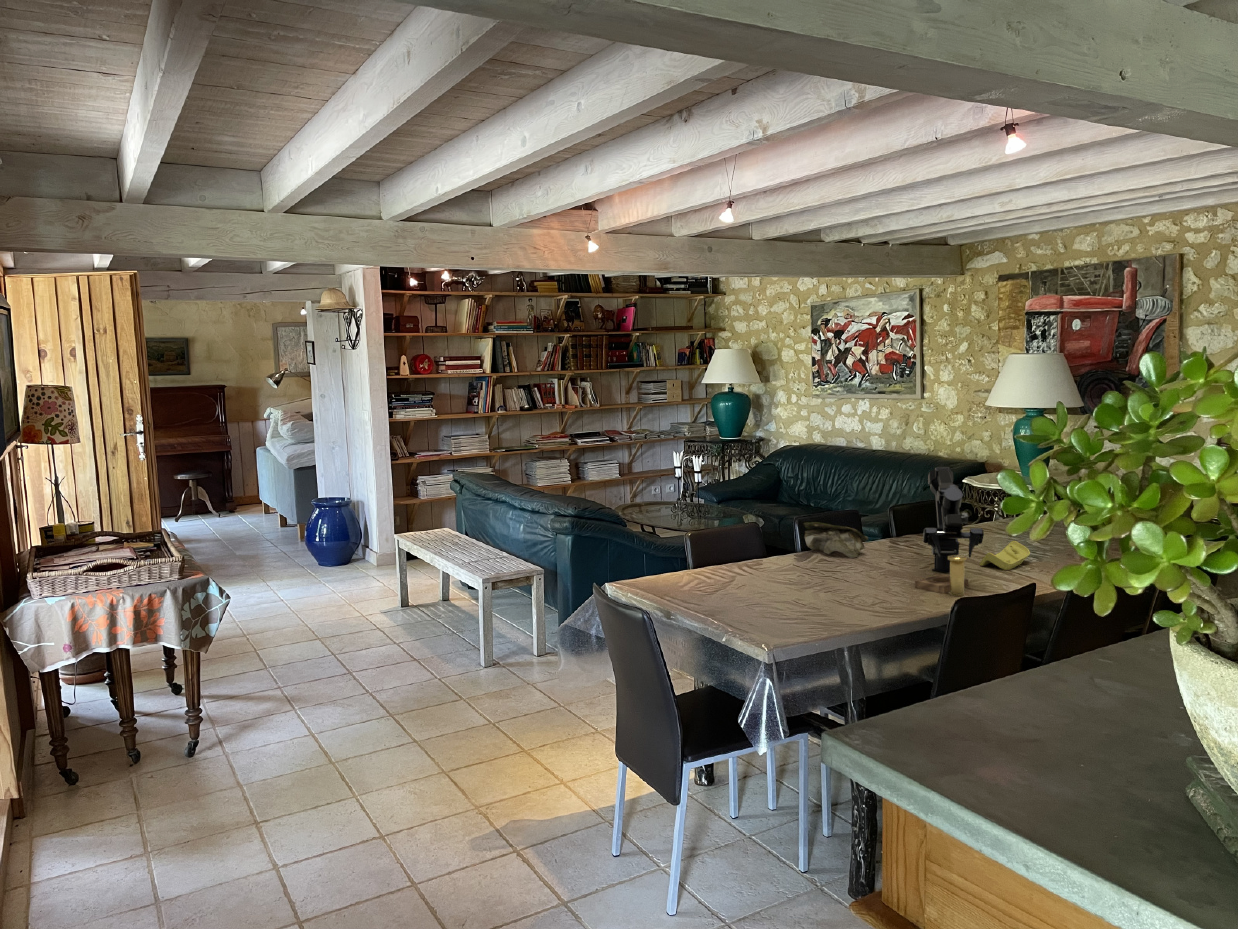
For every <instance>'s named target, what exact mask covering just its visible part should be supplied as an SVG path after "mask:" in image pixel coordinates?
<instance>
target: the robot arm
mask: <svg viewBox="0 0 1238 929" xmlns="http://www.w3.org/2000/svg"><path fill="white" fill-rule="evenodd" d="M953 482H954V472H953V471H952V470H951V467H948V466H937V467H935V468H934V469H932V470H930V471H929V472H928V475H927V483H928V485H929V486H930V487H929V488H930V491H931V493H932V494H933V495H934V496H935V507H936V508H935V509H936V510H935V511H936V522H937V523H936V524H937V527H925V528H924V529H923V534H922V535H923V536H922V537H923V538H922V539H923V540H922V541H923V543H924V544H927V545H929V546H931V554H932V556H934V557H933V558H934V559H933V560H934V566H933V567H934V568H931V571H934V572H940V573H945V574H950V560H948V556H950V555H960V554H959V553H960V552H959V550H960V542H959V539H960V540H961V539H967V540H969V541H968V558H969V559H970V558H972V557H971V556H972V554H973V550H974V548H975V547H977V546H979V545H981V544H983V540H984V536H985V534H984V530H983V529H982V528H981V527H979V528H978V527H973V528H972V527H970V529H969V532H967V531H965V532H963V524H968V522H969V514H968V512H961V513H960V508H961V506H962V501H963V499H964V498H965V497H964V496H965V495H964V494H963V492H962V490H961V489H959V486H958V485H957V484H955V483H953Z"/></svg>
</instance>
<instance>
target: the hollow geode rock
mask: <svg viewBox="0 0 1238 929" xmlns="http://www.w3.org/2000/svg"><path fill="white" fill-rule="evenodd" d="M803 526H804V527H805V529H806V530H804V540H805V544H806V546H807V547H808V548H809V549H811V551H812V552H814V551H821V552H823V553H825V554H828V555H829V554H830V555H831V554H833V553H834V552H839V553H842V554H844V555H845V556H847V557H848V558H849V559H854V558H858V557H859V554H860V553H861V551H862V550H863V549H864V548H865V544H864V542H866V541H869V537H868V536H866V535H865V534H863V533H862V532H860V530H858V529H855V528H854V527H848V526H842V525H834V524H830V523H824V522H817V521H812V522H803Z"/></svg>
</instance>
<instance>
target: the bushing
mask: <svg viewBox="0 0 1238 929" xmlns="http://www.w3.org/2000/svg"><path fill="white" fill-rule="evenodd" d="M967 558H968V557H967V556H965V555H962V554H961V555H960V554H958V555H950V556H948V560H950V572H949V576H950V592H949V595H950V596H951V597H952V596H953V597H963V596H965V587H964V579H965V562H966V561H967V560H968V559H967Z"/></svg>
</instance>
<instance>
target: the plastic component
mask: <svg viewBox="0 0 1238 929" xmlns="http://www.w3.org/2000/svg"><path fill="white" fill-rule="evenodd" d="M1030 554H1031V551H1030V550H1029V548H1028V547H1027V546H1025V545H1023V544H1022V543H1020V542H1018V541H1016V540H1012V541H1010V542H1009V543H1008V544H1007V545H1006V546H1005V547H1004V548H1003V549H1002V550H1001V551H1000V552H997V553H996V554H993V553H992V552H987V553H986V554H985V556H984V557H983V559H982V560H981V561H980V562H979V565H980V567H984V566H987V565H989V564H990V563H991V564H993V565H995V566H997V567H998V568H1000V569H1001V570H1004V571H1009V570H1013V569H1014V568H1017V566H1020V565H1021V564H1022V563H1023V562H1024V561H1025V560H1026V559H1028V557H1029V556H1030Z"/></svg>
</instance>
